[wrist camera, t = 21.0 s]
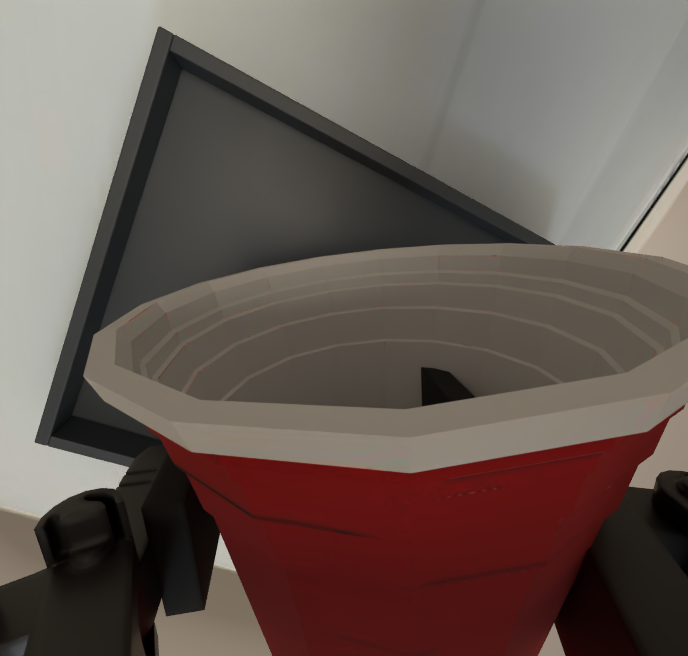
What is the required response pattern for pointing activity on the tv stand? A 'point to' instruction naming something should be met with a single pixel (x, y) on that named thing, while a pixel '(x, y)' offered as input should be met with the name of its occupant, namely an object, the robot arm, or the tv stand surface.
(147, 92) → the tray
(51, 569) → the robot arm
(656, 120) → the tv stand surface
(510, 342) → the plastic cup
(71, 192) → the tv stand surface
